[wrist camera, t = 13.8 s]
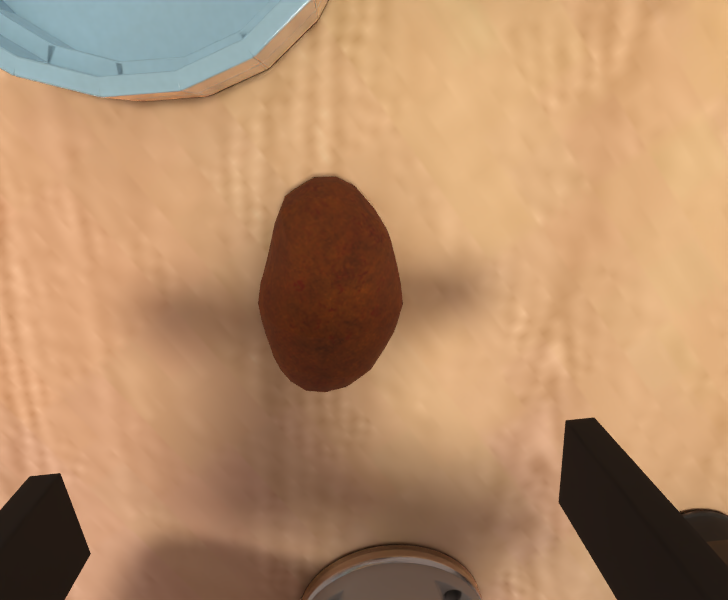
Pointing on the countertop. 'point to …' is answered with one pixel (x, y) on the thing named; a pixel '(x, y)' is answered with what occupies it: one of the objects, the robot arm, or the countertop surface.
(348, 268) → the potato
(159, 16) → the bowl
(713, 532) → the milk frother
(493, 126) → the countertop surface
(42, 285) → the countertop surface
